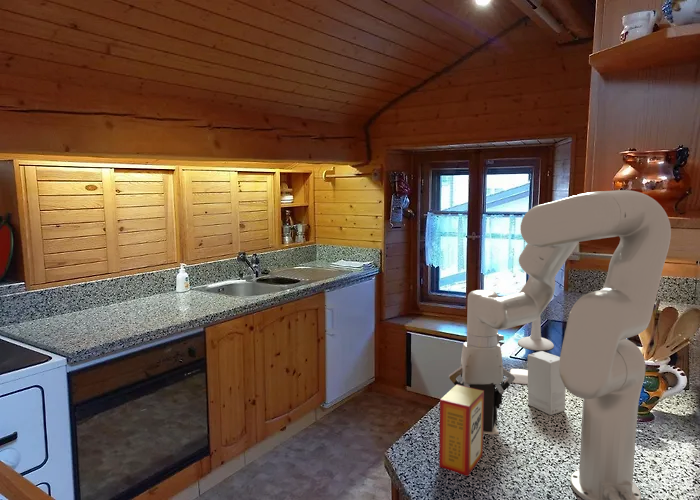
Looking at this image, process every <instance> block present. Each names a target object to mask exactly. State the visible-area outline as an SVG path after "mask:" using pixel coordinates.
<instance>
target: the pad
mask: <svg viewBox="0 0 700 500" xmlns="http://www.w3.org/2000/svg"><path fill="white" fill-rule="evenodd" d="M483 435H499V430H498V428H497V425H496V424H495V425H494V428H493V431H492V432H489V431H483Z"/></svg>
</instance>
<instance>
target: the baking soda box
mask: <svg viewBox="0 0 700 500" xmlns="http://www.w3.org/2000/svg"><path fill="white" fill-rule="evenodd" d="M483 421H484V390H479V389H475V388H470V387H466V386H461V385H457V384H456V385H454V386H453V387H452V388H451V389H449V391H448V392H447V393H445V394H444V395H443V396H442V397H440V399H439V460H438V461H439V465H438V466H439V468H442V469H444V470H448V471H451V472H453V473H457V474H460V475H463V476H466V477H468V476H470V474H471V472H472V471H473V470H474V468H475V467H476V466H477V464H478V463H479V461H480V460H481V459H482V457H483V456H484V434H483Z"/></svg>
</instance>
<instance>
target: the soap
mask: <svg viewBox="0 0 700 500" xmlns="http://www.w3.org/2000/svg"><path fill="white" fill-rule="evenodd" d="M509 372H510V373H511V374H512V375H513V376H514V377H515V379H514V381H513V382H512V383H513V384H514V383H515V384H521V385H528V369H524V368H523V369H520V368H510V370H509Z"/></svg>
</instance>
